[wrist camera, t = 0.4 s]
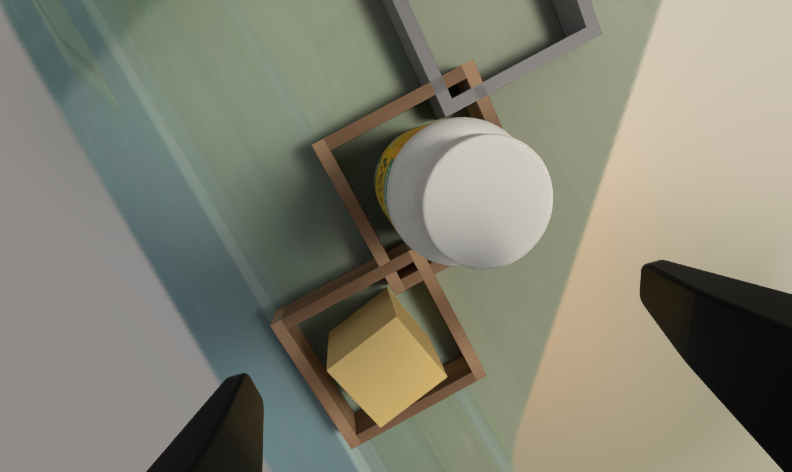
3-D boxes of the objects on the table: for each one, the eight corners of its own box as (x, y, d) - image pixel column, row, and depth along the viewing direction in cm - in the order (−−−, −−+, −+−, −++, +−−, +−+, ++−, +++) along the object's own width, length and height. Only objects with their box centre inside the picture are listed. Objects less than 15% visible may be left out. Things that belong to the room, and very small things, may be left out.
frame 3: (476, 358, 24) (486, 375, 22) (350, 426, 24) (351, 449, 22) (413, 237, 22) (419, 245, 20) (275, 311, 22) (269, 325, 20)
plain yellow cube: (429, 338, 23) (447, 376, 19) (374, 380, 23) (380, 427, 19) (386, 286, 22) (396, 316, 18) (328, 331, 22) (326, 370, 18)
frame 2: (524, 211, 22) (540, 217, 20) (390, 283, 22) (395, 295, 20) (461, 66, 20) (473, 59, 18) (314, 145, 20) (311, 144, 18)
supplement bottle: (486, 210, 22) (594, 258, 13) (392, 245, 22) (432, 320, 12) (457, 111, 21) (554, 82, 11) (357, 147, 20) (371, 147, 11)
